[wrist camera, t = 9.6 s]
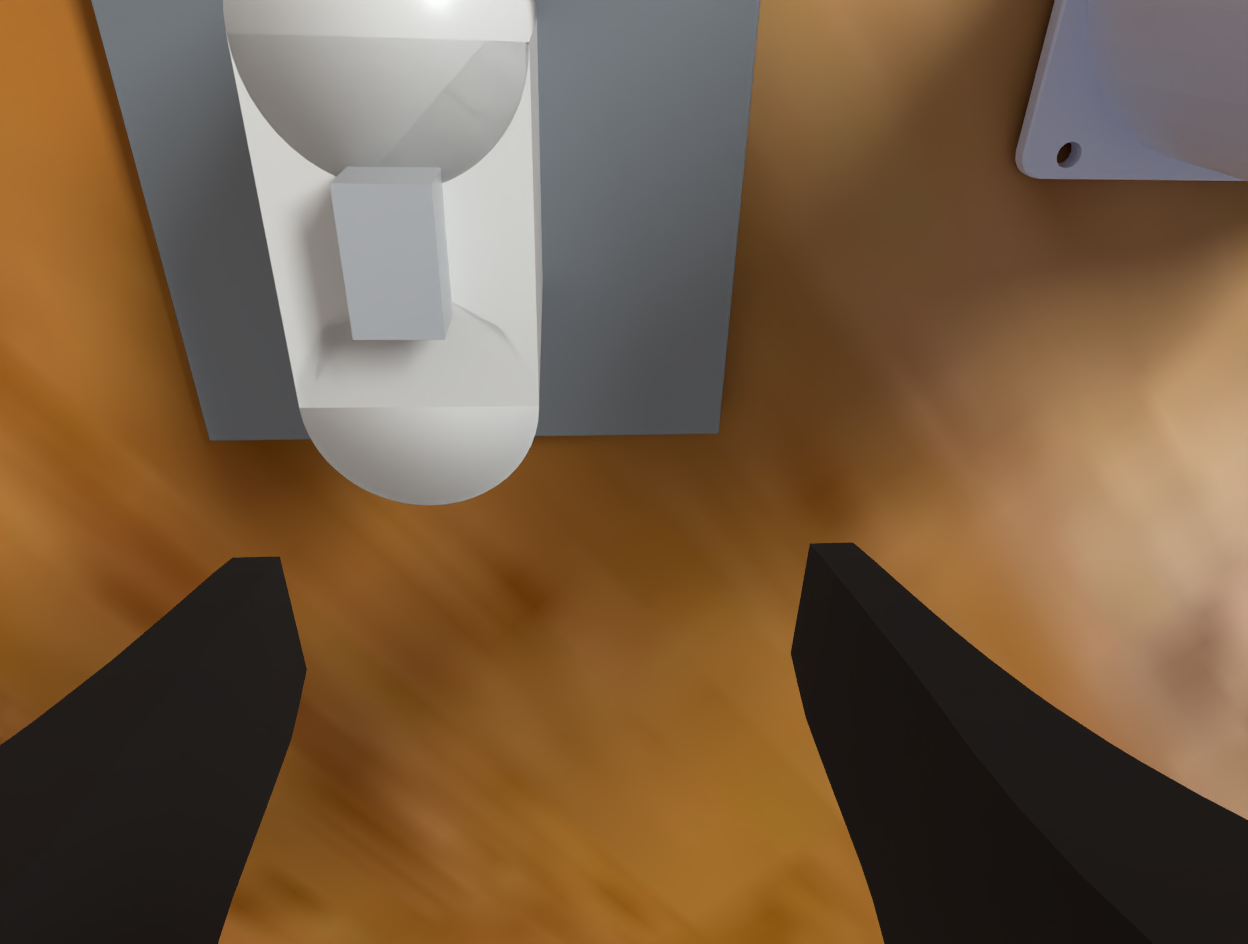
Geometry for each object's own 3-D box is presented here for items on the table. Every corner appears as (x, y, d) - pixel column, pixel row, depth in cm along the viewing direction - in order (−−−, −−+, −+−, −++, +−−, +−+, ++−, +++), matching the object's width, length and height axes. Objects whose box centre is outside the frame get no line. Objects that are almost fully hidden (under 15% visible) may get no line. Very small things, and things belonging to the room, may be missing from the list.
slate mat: (767, -184, 15) (778, -192, 14) (713, 418, 21) (718, 433, 20) (56, -216, 14) (30, -226, 13) (221, 424, 20) (209, 440, 19)
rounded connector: (534, -101, 14) (521, -152, 8) (544, 358, 19) (540, 538, 13) (321, -110, 14) (150, -169, 8) (382, 358, 18) (302, 543, 13)
